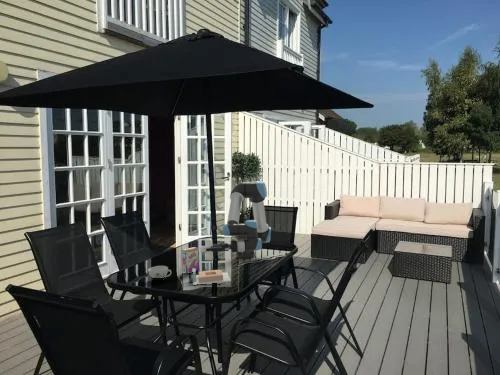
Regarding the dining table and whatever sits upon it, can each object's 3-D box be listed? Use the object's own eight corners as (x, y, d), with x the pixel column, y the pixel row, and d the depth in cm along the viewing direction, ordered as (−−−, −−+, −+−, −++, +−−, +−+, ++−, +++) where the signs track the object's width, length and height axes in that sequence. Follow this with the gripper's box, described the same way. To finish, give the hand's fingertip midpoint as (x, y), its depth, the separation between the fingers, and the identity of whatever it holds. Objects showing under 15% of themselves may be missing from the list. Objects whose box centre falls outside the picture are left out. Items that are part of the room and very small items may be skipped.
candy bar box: (186, 274, 285) (185, 250, 284) (182, 273, 288) (180, 249, 287) (200, 270, 292) (198, 247, 291) (195, 269, 296) (194, 246, 295)
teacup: (145, 283, 269) (144, 270, 269) (152, 277, 282) (151, 265, 281) (168, 282, 267) (167, 270, 267) (174, 277, 280) (173, 265, 279)
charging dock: (192, 277, 278) (191, 266, 277) (227, 273, 281) (226, 263, 280) (193, 285, 258) (192, 274, 257) (230, 282, 261) (230, 270, 261)
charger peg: (206, 258, 270) (204, 238, 270) (213, 258, 271) (211, 238, 270) (206, 260, 266) (205, 240, 265) (213, 259, 267) (212, 239, 266)
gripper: (239, 254, 262) (201, 258, 259) (236, 249, 280) (200, 252, 276) (238, 242, 262) (200, 246, 258) (235, 237, 279) (199, 240, 276)
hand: (200, 249), depth 267 cm, fingers closed on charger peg, 4 cm apart
